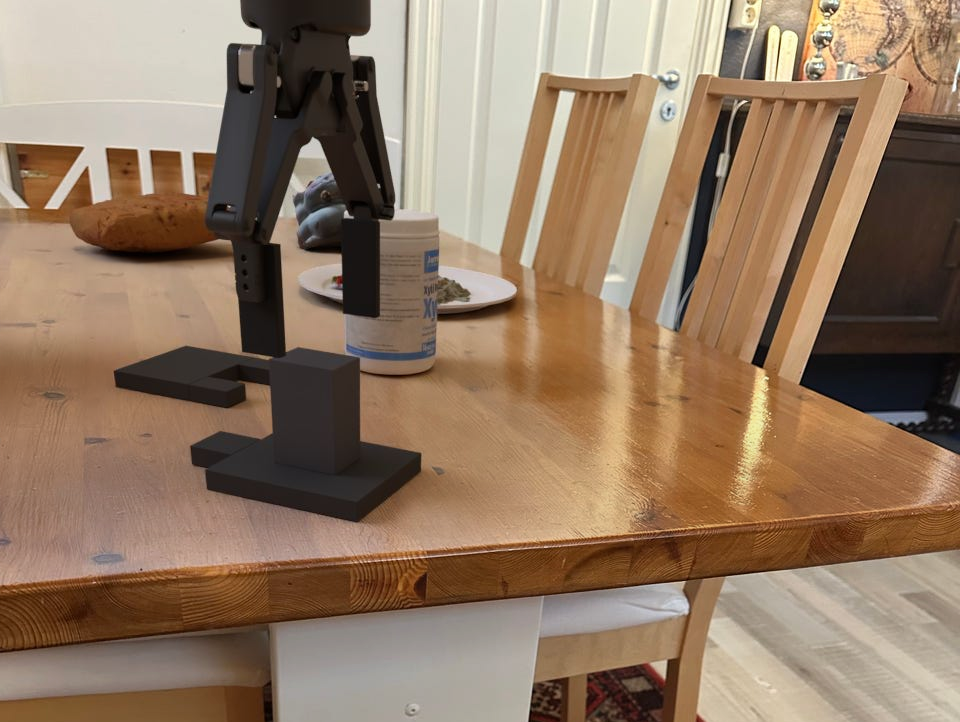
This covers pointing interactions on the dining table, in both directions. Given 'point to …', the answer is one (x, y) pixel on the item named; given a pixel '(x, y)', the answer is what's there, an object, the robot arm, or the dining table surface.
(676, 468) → the dining table surface
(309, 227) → the blue creature figurine
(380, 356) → the supplement tub
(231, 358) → the base pad
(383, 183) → the robot arm
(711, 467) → the dining table surface
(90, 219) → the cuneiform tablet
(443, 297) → the plated food
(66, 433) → the dining table surface
